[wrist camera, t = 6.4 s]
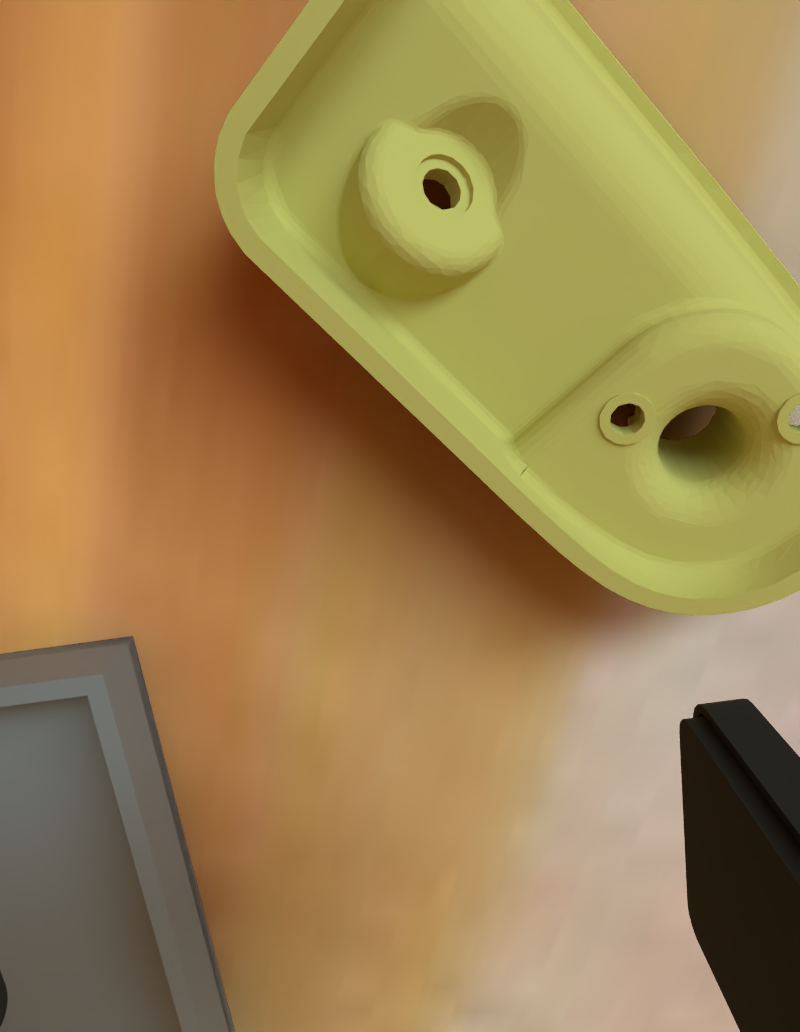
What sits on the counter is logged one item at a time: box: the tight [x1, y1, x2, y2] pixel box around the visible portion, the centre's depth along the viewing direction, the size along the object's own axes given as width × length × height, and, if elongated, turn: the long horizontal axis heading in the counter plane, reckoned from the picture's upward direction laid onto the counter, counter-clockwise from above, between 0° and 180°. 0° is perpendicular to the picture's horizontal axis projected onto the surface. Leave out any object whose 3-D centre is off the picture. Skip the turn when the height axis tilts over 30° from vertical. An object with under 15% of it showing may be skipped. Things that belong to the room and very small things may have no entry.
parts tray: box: [0, 636, 235, 1032], centre depth 30 cm, size 24×12×3 cm, turn 8°
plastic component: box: [214, 0, 800, 615], centre depth 23 cm, size 20×7×10 cm
